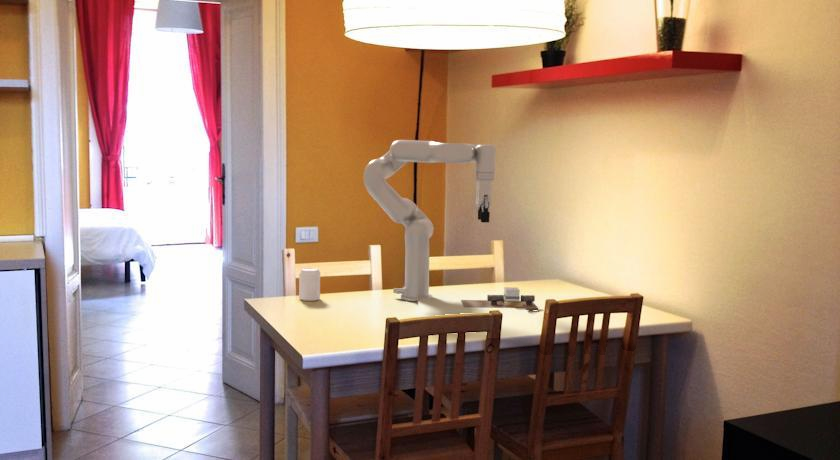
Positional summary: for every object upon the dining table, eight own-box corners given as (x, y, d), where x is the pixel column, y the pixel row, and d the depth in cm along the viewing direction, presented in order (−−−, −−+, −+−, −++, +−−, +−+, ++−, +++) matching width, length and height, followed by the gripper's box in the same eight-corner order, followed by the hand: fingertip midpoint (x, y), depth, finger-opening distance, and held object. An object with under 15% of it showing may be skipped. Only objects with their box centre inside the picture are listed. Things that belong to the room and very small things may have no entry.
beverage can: (322, 297, 316) (322, 267, 314) (317, 302, 308) (317, 271, 306) (301, 296, 316) (302, 267, 315) (296, 301, 308) (296, 270, 307)
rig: (464, 310, 299) (464, 297, 298) (460, 302, 312) (461, 290, 311) (538, 311, 300) (538, 298, 300) (531, 303, 313) (532, 291, 313)
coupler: (505, 305, 303) (506, 289, 303) (503, 302, 309) (504, 287, 308) (519, 305, 304) (519, 290, 303) (517, 302, 309) (517, 287, 308)
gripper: (472, 175, 316) (471, 218, 318) (477, 177, 299) (476, 223, 301) (491, 175, 316) (490, 218, 318) (497, 178, 299) (496, 223, 301)
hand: (483, 220), depth 309 cm, fingers open, 9 cm apart
